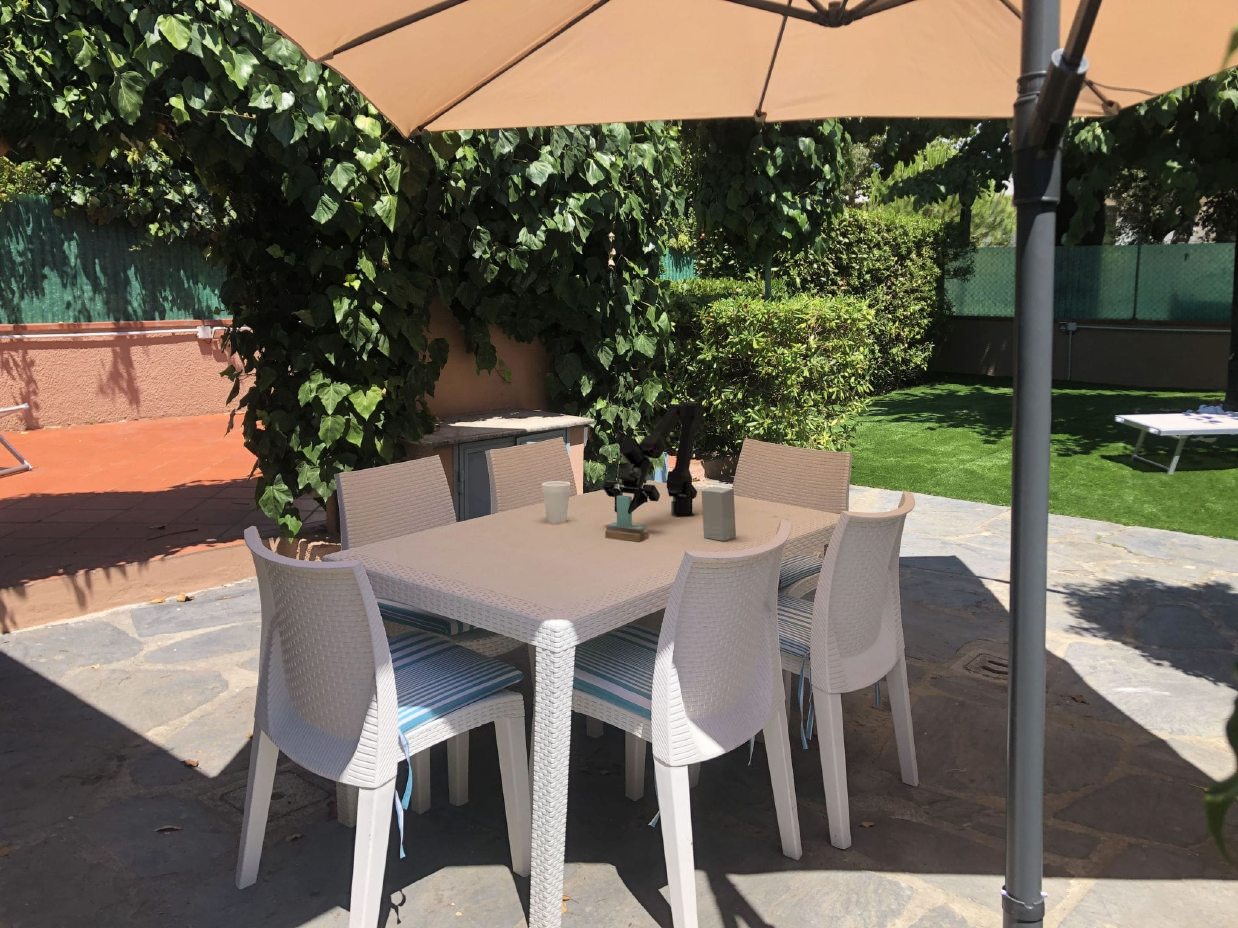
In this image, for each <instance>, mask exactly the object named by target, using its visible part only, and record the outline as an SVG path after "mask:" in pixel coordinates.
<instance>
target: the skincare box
mask: <svg viewBox="0 0 1238 928" xmlns="http://www.w3.org/2000/svg"><path fill="white" fill-rule="evenodd" d="M734 493H735V491H734V488H728V487H719V486H718V487H717V486H712V487H709V488H705V489H702V490H701V504H702V525H703V527H702V528H703V538H704V539H708V538H710V539H709V540H715V541H720V542H726V541H729V540H732V538H733V539H735V538H736V536H737V531H736V528H737V527H736V510H735V509H736V508H735V494H734Z"/></svg>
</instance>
